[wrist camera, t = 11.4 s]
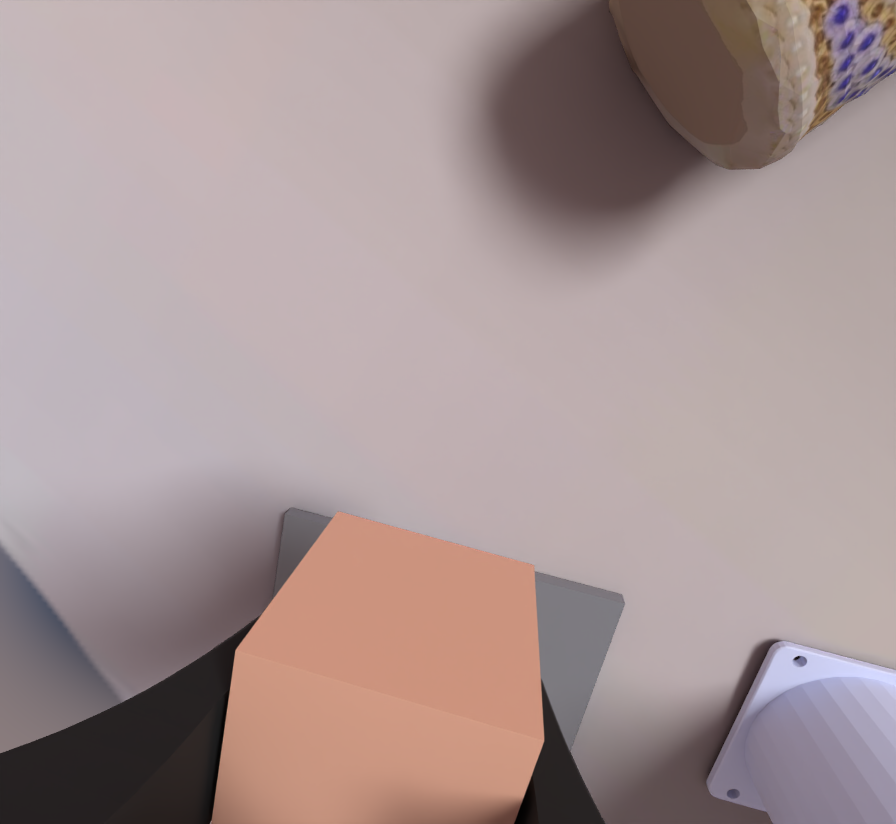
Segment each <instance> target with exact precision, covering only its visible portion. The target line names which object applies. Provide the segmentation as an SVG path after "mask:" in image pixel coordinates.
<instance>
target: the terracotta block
mask: <svg viewBox="0 0 896 824" xmlns="http://www.w3.org/2000/svg"><path fill="white" fill-rule="evenodd" d="M543 743H544V726H543V709H542V692H541V675H540V658H539V641H538V623H537V606H536V589H535V572H534V565H531V564H528V563H524V562H520V561H517V560H513V559H509V558H506V557H502V556H499V555H495V554H491V553H488V552H484V551H480V550H477V549H473V548H469V547H466V546H462V545H459V544H455V543H451V542H448V541H444V540H440V539H437V538H433V537H429V536H426V535H422V534H419V533H415V532H411V531H408V530H404V529H400V528H397V527H393V526H389V525H386V524H382V523H378V522H375V521H371V520H368V519H364V518H360V517H357V516H353V515H349V514H346V513H342V512H337V513H336V515H335V516H334V517H333V519H332V520H331V521H330V523H329V524H328V525H327V527H326V528H325V529H324V531H323V532H322V534H321V535H320V536H319V538H318V539H317V540H316V542H315V543H314V544H313V546H312V547H311V548H310V550H309V551H308V553H307V554H306V555H305V557H304V558H303V559H302V561H301V562H300V563H299V565H298V566H297V567H296V569H295V570H294V572H293V573H292V574H291V576H290V577H289V578H288V580H287V581H286V582H285V584H284V585H283V586H282V588H281V589H280V590H279V592H278V593H277V595H276V596H275V597H274V599H273V600H272V601H271V603H270V604H269V605H268V607H267V608H266V609H265V611H264V612H263V614H262V615H261V616H260V618H259V619H258V620H257V622H256V623H255V624H254V626H253V627H252V628H251V630H250V631H249V633H248V634H247V635H246V637H245V638H244V639H243V641H242V642H241V643H240V645H239V646H238V647H237V649H236V651H235V658H234V665H233V672H232V680H231V687H230V694H229V701H228V708H227V715H226V722H225V729H224V736H223V744H222V751H221V758H220V765H219V772H218V779H217V786H216V793H215V801H214V808H213V815H212V822H211V824H514V822H515V820H516V817H517V814H518V811H519V809H520V806H521V803H522V800H523V798H524V795H525V792H526V790H527V787H528V784H529V781H530V779H531V776H532V773H533V770H534V768H535V765H536V762H537V759H538V757H539V754H540V751H541V749H542V746H543Z"/></svg>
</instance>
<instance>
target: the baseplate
mask: <svg viewBox="0 0 896 824" xmlns="http://www.w3.org/2000/svg"><path fill="white" fill-rule="evenodd" d="M332 519H333V518H329V517H325V516H321V515H318V514H314V513H310V512H306V511H302V510H299V509H295V508H290V509H289V510H288V511H287V512H286V513H285V517H284V524H283V531H282V538H281V545H280V551H279V558H278V565H277V572H276V579H275V586H274V593H273V599H274V597H275V596H276V595H277V593H278V592H279V590H280V589H281V588H282V586H283V585H284V584H285V582H286V581H287V580H288V578H289V577H290V576H291V574H292V573H293V572H294V570H295V569H296V567H297V566H298V565H299V563H300V562H301V561H302V559H303V558H304V557H305V555H306V554H307V553H308V551H309V550H310V548H311V547H312V546H313V544H314V543H315V542H316V540H317V539H318V538H319V536H320V535H321V534H322V532H323V531H324V529H325V528H326V527H327V525H328V524H329V523H330V521H331V520H332ZM535 589H536V606H537V623H538V641H539V658H540V675H541V679H542V681H543V683H544V686H545V689H546V692H547V695H548V698H549V700H550V703H551V706H552V708H553V711H554V714H555V716H556V719H557V721H558V724H559V726H560V729H561V731H562V734H563V736H564V739H565V741H566V743H567V746H568V748H569V750H571V748H572V745H573V742H574V740H575V737H576V734H577V731H578V729H579V726H580V723H581V721H582V718H583V715H584V713H585V710H586V707H587V705H588V702H589V699H590V696H591V694H592V691H593V688H594V686H595V683H596V680H597V678H598V675H599V672H600V670H601V667H602V664H603V662H604V659H605V656H606V653H607V651H608V648H609V645H610V643H611V640H612V637H613V635H614V632H615V629H616V627H617V624H618V621H619V618H620V616H621V613H622V610H623V608H624V605H625V602H624V599H623V596H622V594H618V593H614V592H610V591H606V590H603V589H599V588H595V587H591V586H587V585H584V584H580V583H576V582H572V581H568V580H565V579H561V578H557V577H553V576H549V575H546V574H542V573H538V572H535Z"/></svg>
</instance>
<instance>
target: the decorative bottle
mask: <svg viewBox="0 0 896 824" xmlns="http://www.w3.org/2000/svg"><path fill="white" fill-rule="evenodd" d="M609 12H610V13H611V14H612V16H613V18H614V21H615V24H616V28H617V31H618V34H619V37H620V40H621V43H622V46H623V48H624V51H625V53H626V56H627V58H628V61H629V63H630V66H631V68H632V70H633V71H634V73H635V74H636V75H637V76H638V78H639V79H640V81H641V82H642V84H643V86H644V87H645V89H646V90H647V92H648V94H649V95H650V97H651V98H652V100H653V101H654V103H655V104H656V106H657V107H658V109H659V110H660V112H661V113H662V115H663V116H664V118H665V119H666V121H667V122H668V124H669V125H670V126H671V127H673V128H674V129H675V130H676V131H677V132H678V133H679V134H680V135H681V136H682V137H684V138H685V139H686V140H687V141H688V142H689V143H690V144H691V145H693V146H694V147H695V148H696V149H697V150H698V151H699V152H700V153H702V154H703V155H704V156H705V157H707V158H708V159H709V160H711V161H712V162H713V163H715V164H716V165H719V166H721V167H724V168H726V169H729V170H733V169H760V168H762V167H765V166H767V165H769V164H771V163H773V162H775V161H778V160H780V159H782V158H783V157H784V156H786V155H787V154H788V153H790V152H791V151H792V150H793V148H794V147H795V145H796V144H797V142H798V141H799V140H800V139H802V138H803V137H804V136H805V135H806V134H808V133H809V132H811V131H812V130H814V129H815V128H816V127H817V126H820V125H822V124H823V123H824V122H825V121H826V120H827V119H829V118H830V117H831V116H832V115H833V114H834V113H835V112H836V111H838V110H839V109H840V108H841V107H842V106H843V105H844V104H846V103H848V102H850V101H852V100H854V99H856V98H858V97H860V96H861V95H863V94H865V93H866V92H867V91H869V90H870V89H871V88H872V87H873V86H874V85H876V84H877V83H878V82H880V81H881V80H883V79H884V78H886V77H887V76H889V75H890V74H892V73H894V72H896V0H609Z"/></svg>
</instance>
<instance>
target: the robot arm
mask: <svg viewBox="0 0 896 824" xmlns="http://www.w3.org/2000/svg"><path fill="white" fill-rule="evenodd" d="M261 615H262V614H261ZM261 615H260V616H261ZM260 616H259V617H257V618H256V619H255V620H253V621H252V622H251V623H249V624H248V625H247V626H245V627H244V628H243V629H241V630H240V631H238V632H237V633H236V634H234V635H233V636H231V637H230V638H228V639H227V640H226V641H224V642H223V643H221V644H220V645H218V646H217V647H215V648H214V649H212V650H211V651H210V652H208V653H207V654H205V655H204V656H202V657H200V658H199V659H197V660H196V661H194V662H192V663H191V664H189V665H188V666H186V667H184V668H183V669H181V670H180V671H178V672H176V673H175V674H173V675H171V676H170V677H168V678H166V679H165V680H163V681H161V682H159V683H158V684H156V685H154V686H152V687H151V688H149V689H147V690H145V691H143V692H141V693H140V694H138V695H136V696H134V697H132V698H130V699H128V700H126V701H124V702H122V703H120V704H118V705H116V706H114V707H112V708H110V709H108V710H106V711H104V712H101V713H100V714H97V715H95V716H93V717H91V718H88V719H86V720H84V721H82V722H79V723H77V724H75V725H73V726H71V727H68V728H66V729H64V730H61V731H59V732H56V733H54V734H51V735H49V736H46V737H43V738H41V739H38V740H36V741H33V742H31V743H28V744H25V745H23V746H20V747H17V748H14V749H11V750H9V751H6V752H3V753H0V824H210V822H211V821H212V815H213V808H214V801H215V793H216V786H217V779H218V772H219V765H220V758H221V751H222V744H223V736H224V729H225V722H226V715H227V708H228V701H229V694H230V687H231V680H232V672H233V665H234V658H235V651H236V649H237V647H238V646H239V645H240V643H241V642H242V641H243V639H244V638H245V637H246V635H247V634H248V633H249V631H250V630H251V628H252V627H253V626H254V624H255V623H256V622H257V620H258V619H259V618H260ZM797 656H801V657H800V658H799V659H797V660H793V659H794V658H795V657H797ZM541 692H542V709H543V726H544V743H543V746H542V749H541V751H540V754H539V757H538V759H537V762H536V765H535V768H534V770H533V773H532V776H531V779H530V781H529V784H528V787H527V790H526V792H525V795H524V798H523V800H522V803H521V806H520V809H519V811H518V814H517V817H516V820H515V822H514V824H605V822H604V820H603V818H602V817H601V815H600V813H599V811H598V809H597V807H596V805H595V803H594V801H593V799H592V797H591V795H590V793H589V791H588V789H587V787H586V785H585V783H584V781H583V779H582V777H581V775H580V772H579V770H578V768H577V766H576V764H575V761H574V759H573V757H572V755H571V752H570V750H569V748H568V746H567V743H566V741H565V739H564V736H563V734H562V731H561V729H560V726H559V724H558V721H557V719H556V716H555V714H554V711H553V708H552V706H551V703H550V700H549V698H548V695H547V692H546V689H545V686H544V683H543V681H542V679H541ZM706 784H707V787H708V790H709V792H710V794H711V795H712V796H714V797H716V798H718V799H722V800H726V801H729V802H733V803H736V804H740V805H743V806H747V807H750V808H754V809H757V810H761V811H765V812H767V813H768V815H769V817H770V819H771V822H772V824H896V670H893V669H890V668H886V667H882V666H878V665H874V664H871V663H867V662H863V661H859V660H855V659H852V658H848V657H844V656H840V655H837V654H833V653H829V652H825V651H821V650H818V649H814V648H810V647H806V646H802V645H799V644H795V643H791V642H787V641H780V642H776V643H775V644H773V645H772V646H771V647H770V649H769V651H768V653H767V655H766V657H765V659H764V661H763V663H762V666H761V668H760V670H759V672H758V674H757V676H756V678H755V680H754V682H753V684H752V686H751V689H750V691H749V693H748V695H747V697H746V699H745V701H744V703H743V705H742V707H741V709H740V712H739V714H738V716H737V718H736V720H735V722H734V724H733V726H732V728H731V730H730V732H729V735H728V737H727V739H726V741H725V743H724V745H723V747H722V749H721V751H720V753H719V755H718V758H717V760H716V762H715V764H714V766H713V768H712V770H711V772H710V774H709V776H708V778H707V782H706ZM730 789H732V790H730Z"/></svg>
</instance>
